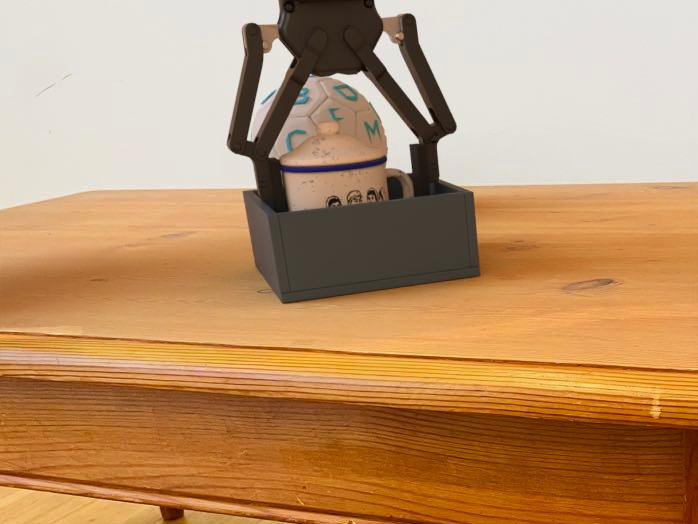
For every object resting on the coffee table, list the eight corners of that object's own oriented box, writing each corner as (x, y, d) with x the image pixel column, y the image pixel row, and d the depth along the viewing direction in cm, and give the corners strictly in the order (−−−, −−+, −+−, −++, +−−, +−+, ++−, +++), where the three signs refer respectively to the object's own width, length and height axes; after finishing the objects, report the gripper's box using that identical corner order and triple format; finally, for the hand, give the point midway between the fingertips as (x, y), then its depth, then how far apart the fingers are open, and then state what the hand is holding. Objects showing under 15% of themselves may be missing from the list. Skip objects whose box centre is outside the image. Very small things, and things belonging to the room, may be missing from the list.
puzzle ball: (407, 204, 129) (392, 68, 122) (378, 227, 115) (359, 75, 109) (285, 210, 130) (264, 76, 124) (242, 233, 117) (216, 84, 110)
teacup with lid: (323, 280, 88) (302, 129, 83) (275, 266, 94) (252, 125, 89) (446, 256, 94) (433, 114, 89) (392, 244, 101) (377, 111, 96)
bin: (282, 303, 85) (267, 215, 82) (255, 267, 99) (242, 190, 96) (480, 275, 90) (473, 191, 87) (428, 244, 104) (420, 171, 101)
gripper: (162, -52, 77) (219, 255, 87) (480, -64, 84) (500, 221, 94) (157, -44, 83) (210, 241, 93) (453, -56, 90) (474, 209, 100)
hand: (356, 231), depth 93 cm, fingers closed on teacup with lid, 12 cm apart
